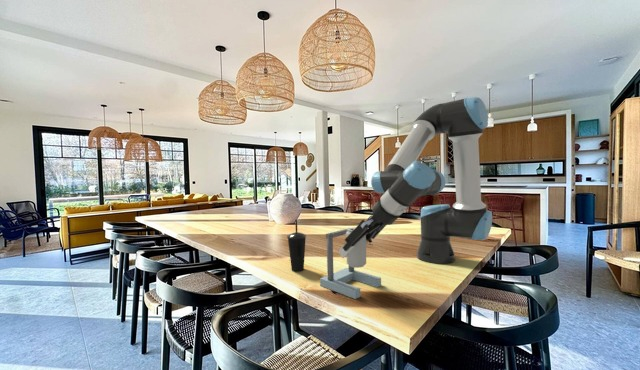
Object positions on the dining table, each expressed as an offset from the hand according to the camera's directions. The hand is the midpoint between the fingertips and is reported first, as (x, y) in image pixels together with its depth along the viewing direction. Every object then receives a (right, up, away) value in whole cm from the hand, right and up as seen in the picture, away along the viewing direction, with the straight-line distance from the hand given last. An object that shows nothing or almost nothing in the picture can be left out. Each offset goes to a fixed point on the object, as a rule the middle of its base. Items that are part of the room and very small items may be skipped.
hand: (347, 252), depth 92 cm
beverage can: (+3, -4, -2) cm, 5 cm away
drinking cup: (-18, -11, +17) cm, 28 cm away
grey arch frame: (+1, -11, 0) cm, 11 cm away
